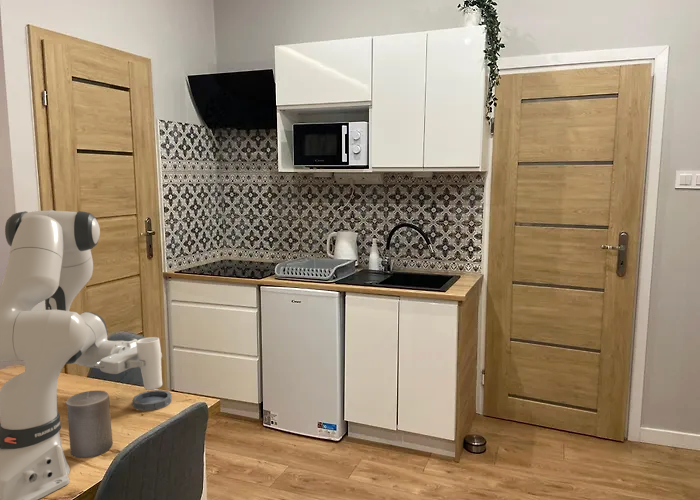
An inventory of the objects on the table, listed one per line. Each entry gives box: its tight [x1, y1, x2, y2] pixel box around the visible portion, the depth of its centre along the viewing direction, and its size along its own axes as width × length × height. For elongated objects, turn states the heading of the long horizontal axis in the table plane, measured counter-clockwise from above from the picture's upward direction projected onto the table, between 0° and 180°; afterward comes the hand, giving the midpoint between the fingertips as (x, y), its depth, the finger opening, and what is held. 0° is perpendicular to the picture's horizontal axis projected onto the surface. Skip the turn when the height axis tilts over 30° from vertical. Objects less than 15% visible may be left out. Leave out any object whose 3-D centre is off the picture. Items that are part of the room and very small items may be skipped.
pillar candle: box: [65, 390, 114, 459], centre depth 135 cm, size 10×10×15 cm
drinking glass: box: [136, 336, 163, 391], centre depth 163 cm, size 7×7×15 cm
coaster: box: [131, 389, 172, 412], centre depth 164 cm, size 11×11×2 cm
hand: (152, 359), depth 162 cm, fingers closed on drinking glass, 6 cm apart
